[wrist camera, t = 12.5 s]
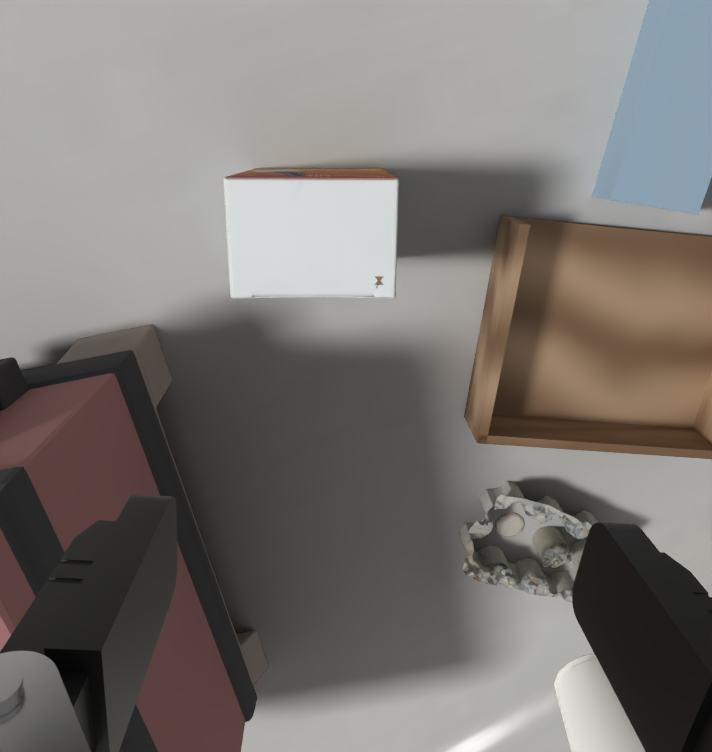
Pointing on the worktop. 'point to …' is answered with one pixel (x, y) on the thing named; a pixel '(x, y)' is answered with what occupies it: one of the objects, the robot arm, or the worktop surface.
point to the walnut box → (595, 341)
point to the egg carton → (546, 540)
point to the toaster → (105, 502)
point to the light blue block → (664, 113)
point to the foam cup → (593, 709)
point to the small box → (312, 233)
